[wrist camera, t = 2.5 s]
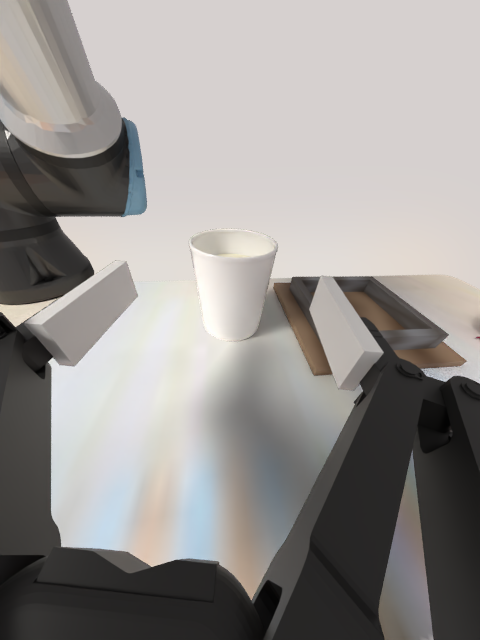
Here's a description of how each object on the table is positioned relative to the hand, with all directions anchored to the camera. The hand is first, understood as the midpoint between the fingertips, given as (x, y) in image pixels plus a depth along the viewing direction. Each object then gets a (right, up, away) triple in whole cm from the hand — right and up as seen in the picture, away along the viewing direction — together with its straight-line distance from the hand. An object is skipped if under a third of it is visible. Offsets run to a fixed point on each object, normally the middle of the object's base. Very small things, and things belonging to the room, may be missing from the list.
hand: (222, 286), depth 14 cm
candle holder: (0, -3, +16) cm, 16 cm away
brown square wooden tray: (+19, -2, +18) cm, 26 cm away
